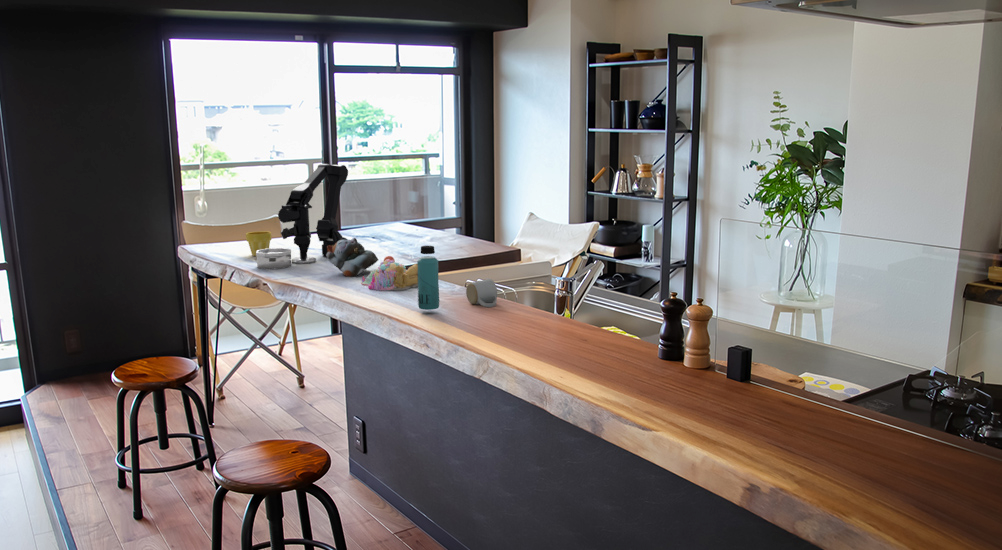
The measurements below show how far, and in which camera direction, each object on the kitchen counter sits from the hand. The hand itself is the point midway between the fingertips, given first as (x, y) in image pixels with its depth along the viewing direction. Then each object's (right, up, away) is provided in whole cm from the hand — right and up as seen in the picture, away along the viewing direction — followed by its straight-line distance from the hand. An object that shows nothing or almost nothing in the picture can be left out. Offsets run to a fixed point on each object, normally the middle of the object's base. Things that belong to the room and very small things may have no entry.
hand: (303, 258), depth 306 cm
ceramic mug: (+76, -16, -73) cm, 107 cm away
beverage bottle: (+60, -18, -84) cm, 105 cm away
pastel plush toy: (+43, -11, -43) cm, 62 cm away
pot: (-9, -3, -10) cm, 14 cm away
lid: (0, -2, 0) cm, 2 cm away
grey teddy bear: (+25, -7, -24) cm, 36 cm away
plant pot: (-23, +1, +16) cm, 28 cm away
